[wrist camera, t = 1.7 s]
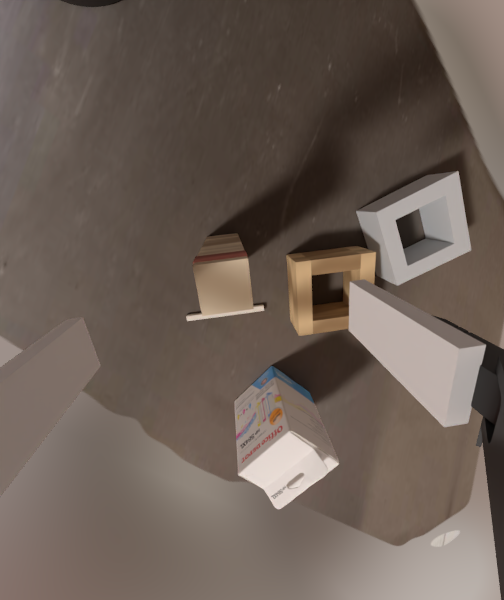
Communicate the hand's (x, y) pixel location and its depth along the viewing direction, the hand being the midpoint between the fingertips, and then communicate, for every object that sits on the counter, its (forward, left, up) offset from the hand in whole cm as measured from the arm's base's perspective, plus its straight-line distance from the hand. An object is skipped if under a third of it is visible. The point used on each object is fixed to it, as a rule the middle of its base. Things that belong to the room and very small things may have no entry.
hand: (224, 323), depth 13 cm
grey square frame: (0, +22, -20) cm, 30 cm away
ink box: (+23, +4, -20) cm, 31 cm away
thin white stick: (+8, -1, -20) cm, 21 cm away
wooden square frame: (+6, +12, -20) cm, 24 cm away
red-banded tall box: (0, 0, -20) cm, 20 cm away
